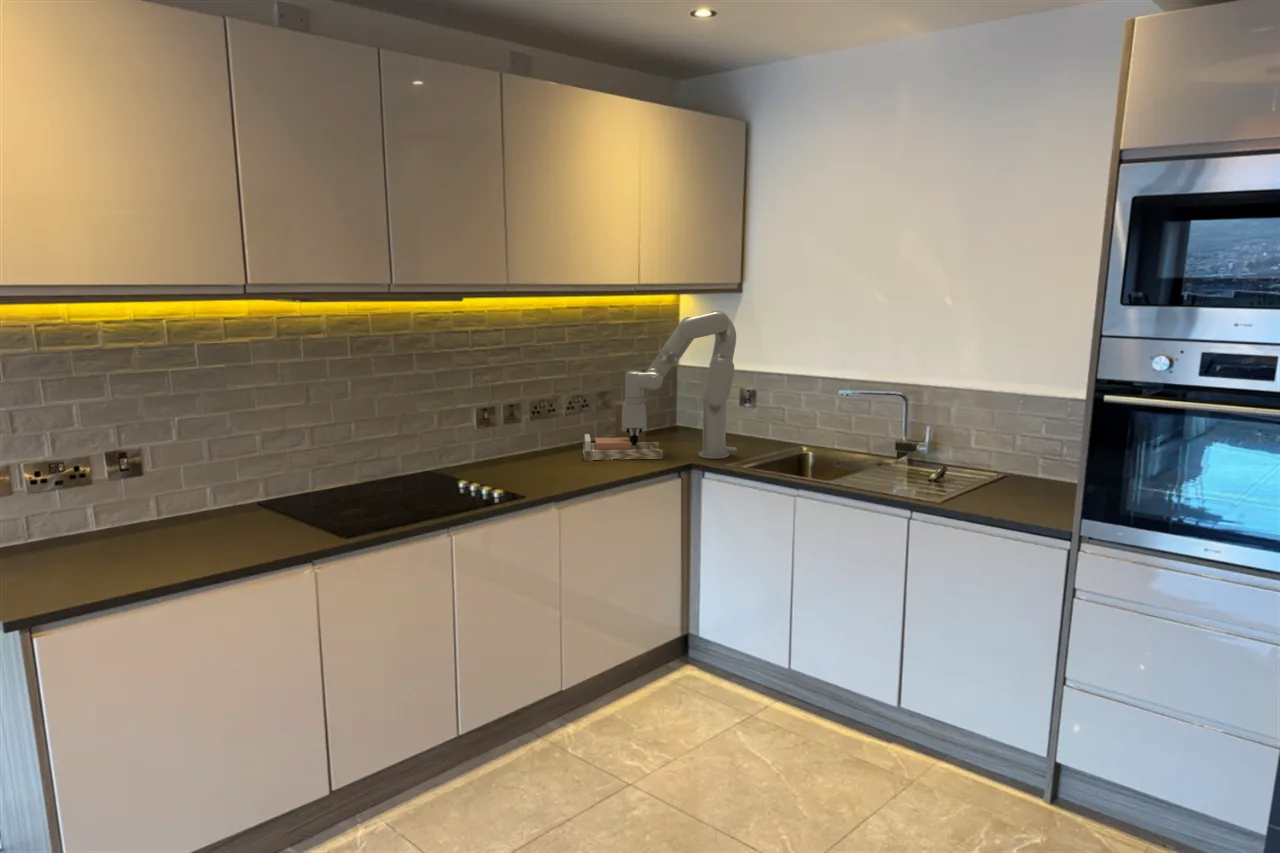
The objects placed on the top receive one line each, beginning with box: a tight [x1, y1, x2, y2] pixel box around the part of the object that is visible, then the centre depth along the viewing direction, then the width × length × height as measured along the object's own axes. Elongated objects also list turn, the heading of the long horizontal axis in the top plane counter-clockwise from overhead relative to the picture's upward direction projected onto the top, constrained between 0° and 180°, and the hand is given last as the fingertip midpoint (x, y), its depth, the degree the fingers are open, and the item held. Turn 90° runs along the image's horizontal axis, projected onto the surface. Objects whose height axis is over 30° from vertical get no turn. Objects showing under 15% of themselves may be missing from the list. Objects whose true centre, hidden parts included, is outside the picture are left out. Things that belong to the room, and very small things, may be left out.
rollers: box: [591, 444, 653, 450], centre depth 342 cm, size 26×14×2 cm, turn 95°
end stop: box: [584, 433, 592, 456], centre depth 340 cm, size 2×16×6 cm, turn 5°
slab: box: [594, 437, 631, 450], centre depth 341 cm, size 14×12×3 cm
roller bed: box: [582, 441, 664, 462], centre depth 342 cm, size 32×16×4 cm, turn 95°
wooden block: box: [615, 400, 646, 443], centre depth 360 cm, size 10×10×20 cm
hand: (634, 444), depth 342 cm, fingers closed
